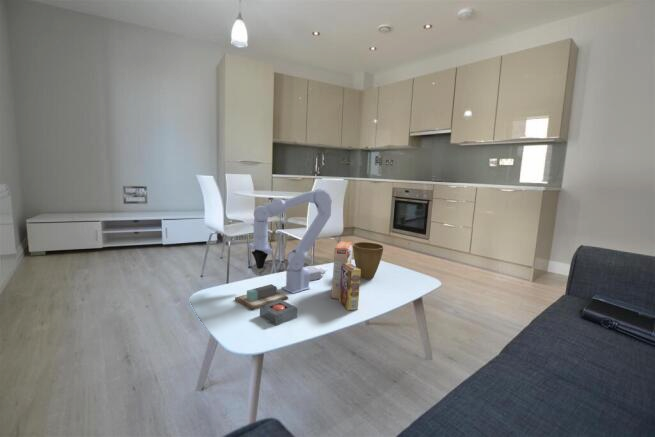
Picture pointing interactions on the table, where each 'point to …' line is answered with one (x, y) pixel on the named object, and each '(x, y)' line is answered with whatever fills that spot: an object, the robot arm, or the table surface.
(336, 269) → the cracker box
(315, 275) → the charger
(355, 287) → the candy box
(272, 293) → the marker
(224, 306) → the table surface
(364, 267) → the plant pot
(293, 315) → the button housing
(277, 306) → the button
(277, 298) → the wooden picture frame
